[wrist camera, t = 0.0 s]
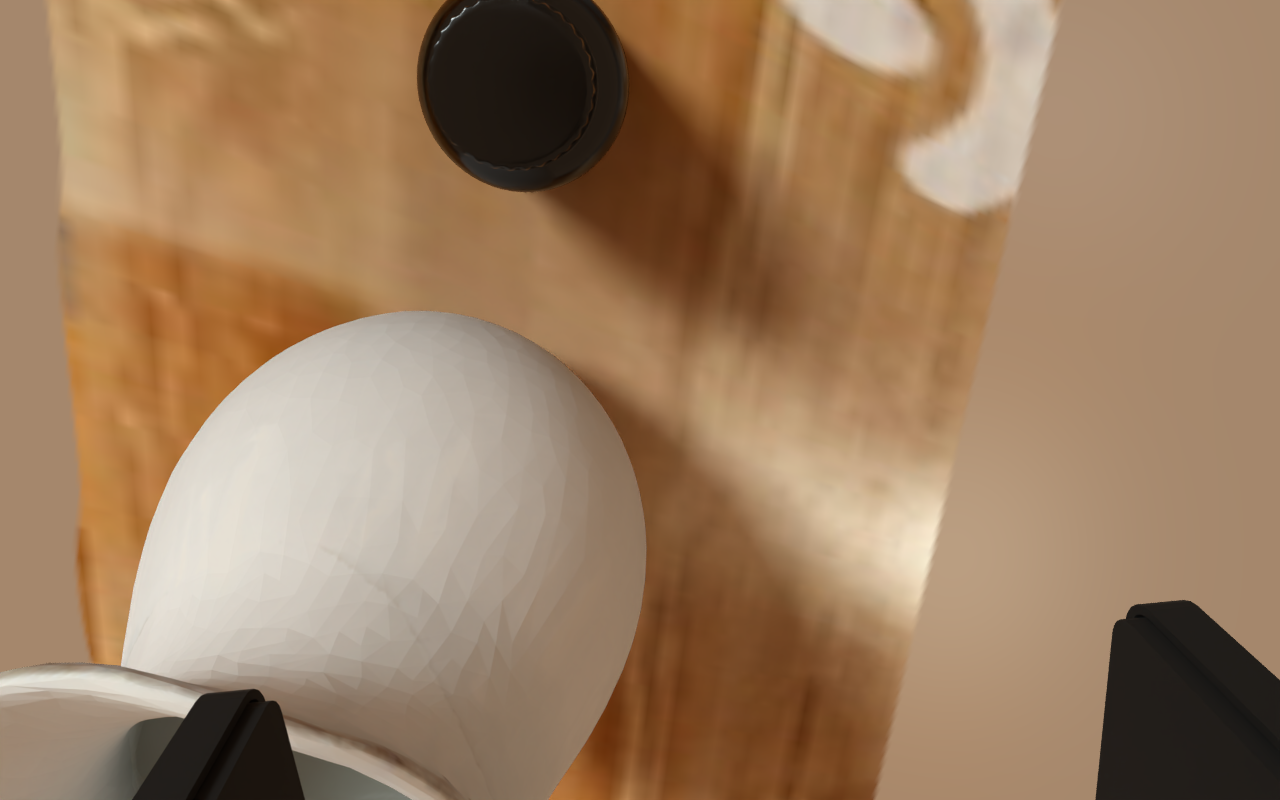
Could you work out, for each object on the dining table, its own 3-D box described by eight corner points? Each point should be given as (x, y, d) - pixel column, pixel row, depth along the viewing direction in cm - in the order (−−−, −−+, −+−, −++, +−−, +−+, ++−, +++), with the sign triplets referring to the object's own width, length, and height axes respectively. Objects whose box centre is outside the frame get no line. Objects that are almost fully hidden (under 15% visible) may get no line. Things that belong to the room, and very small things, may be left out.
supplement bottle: (647, 24, 37) (666, 3, 25) (598, 190, 39) (595, 240, 28) (478, -35, 36) (421, -82, 25) (438, 140, 38) (367, 170, 27)
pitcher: (197, 351, 41) (-543, 866, 14) (554, 213, 39) (454, 506, 13) (428, 759, 48) (222, 1574, 22) (733, 657, 47) (896, 1400, 21)
